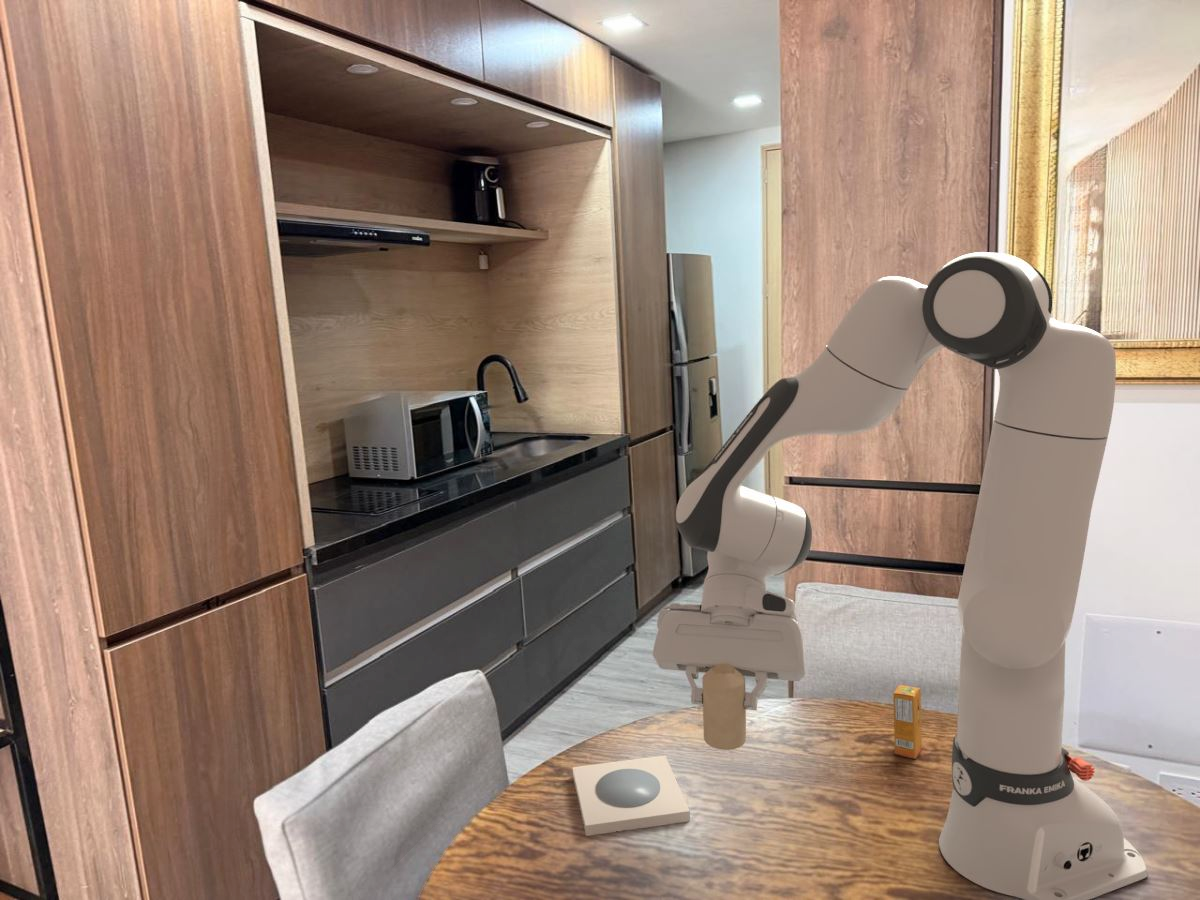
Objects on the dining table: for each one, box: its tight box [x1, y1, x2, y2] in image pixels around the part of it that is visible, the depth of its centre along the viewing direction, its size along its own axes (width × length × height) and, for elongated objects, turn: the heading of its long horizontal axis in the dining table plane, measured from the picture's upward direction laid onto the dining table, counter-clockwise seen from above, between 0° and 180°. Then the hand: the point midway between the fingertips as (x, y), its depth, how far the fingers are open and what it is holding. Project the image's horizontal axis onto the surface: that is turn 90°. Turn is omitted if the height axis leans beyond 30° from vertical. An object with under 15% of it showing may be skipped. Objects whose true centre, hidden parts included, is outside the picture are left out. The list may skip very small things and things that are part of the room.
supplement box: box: [892, 684, 923, 760], centre depth 121 cm, size 3×3×10 cm
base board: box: [572, 754, 691, 837], centre depth 113 cm, size 14×14×2 cm
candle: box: [701, 664, 747, 751], centre depth 106 cm, size 6×6×10 cm
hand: (723, 706), depth 105 cm, fingers closed on candle, 5 cm apart
